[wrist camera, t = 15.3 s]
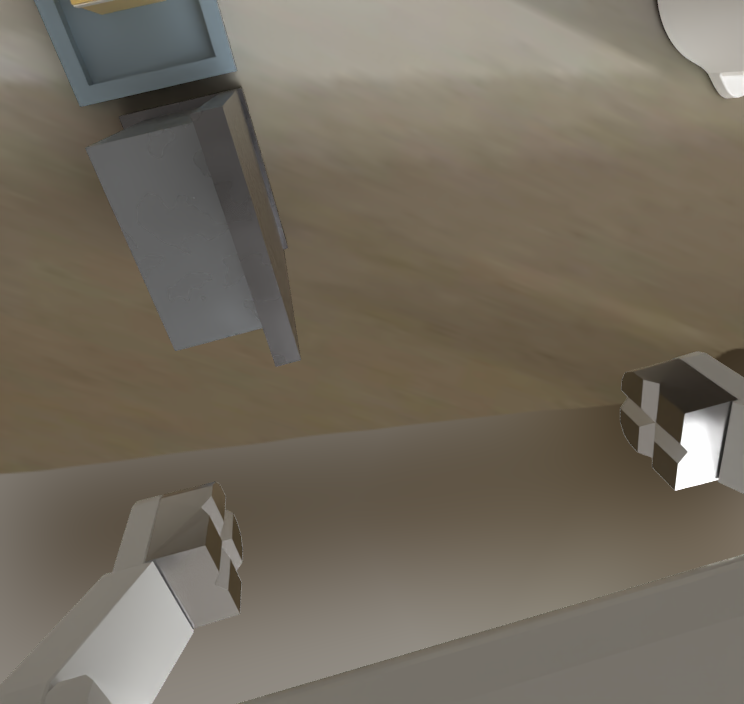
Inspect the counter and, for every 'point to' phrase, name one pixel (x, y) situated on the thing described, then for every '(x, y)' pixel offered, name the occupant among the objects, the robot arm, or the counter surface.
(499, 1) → the counter surface
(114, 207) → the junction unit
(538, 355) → the counter surface
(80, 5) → the fuse block
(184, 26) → the tray
